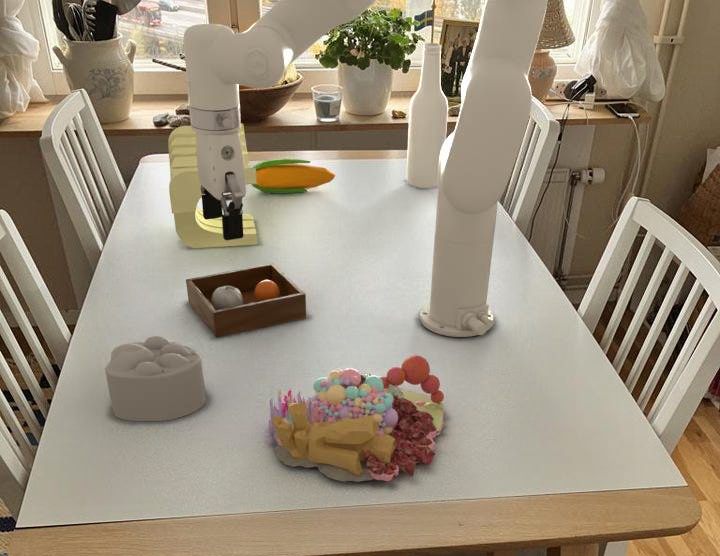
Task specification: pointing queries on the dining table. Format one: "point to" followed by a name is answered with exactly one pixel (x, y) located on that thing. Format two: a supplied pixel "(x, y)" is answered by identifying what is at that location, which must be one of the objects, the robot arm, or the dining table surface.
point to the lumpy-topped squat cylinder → (155, 380)
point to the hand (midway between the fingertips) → (223, 228)
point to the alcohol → (427, 122)
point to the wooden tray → (246, 300)
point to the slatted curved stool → (200, 195)
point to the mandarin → (266, 291)
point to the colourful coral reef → (361, 423)
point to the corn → (289, 176)
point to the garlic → (226, 298)
